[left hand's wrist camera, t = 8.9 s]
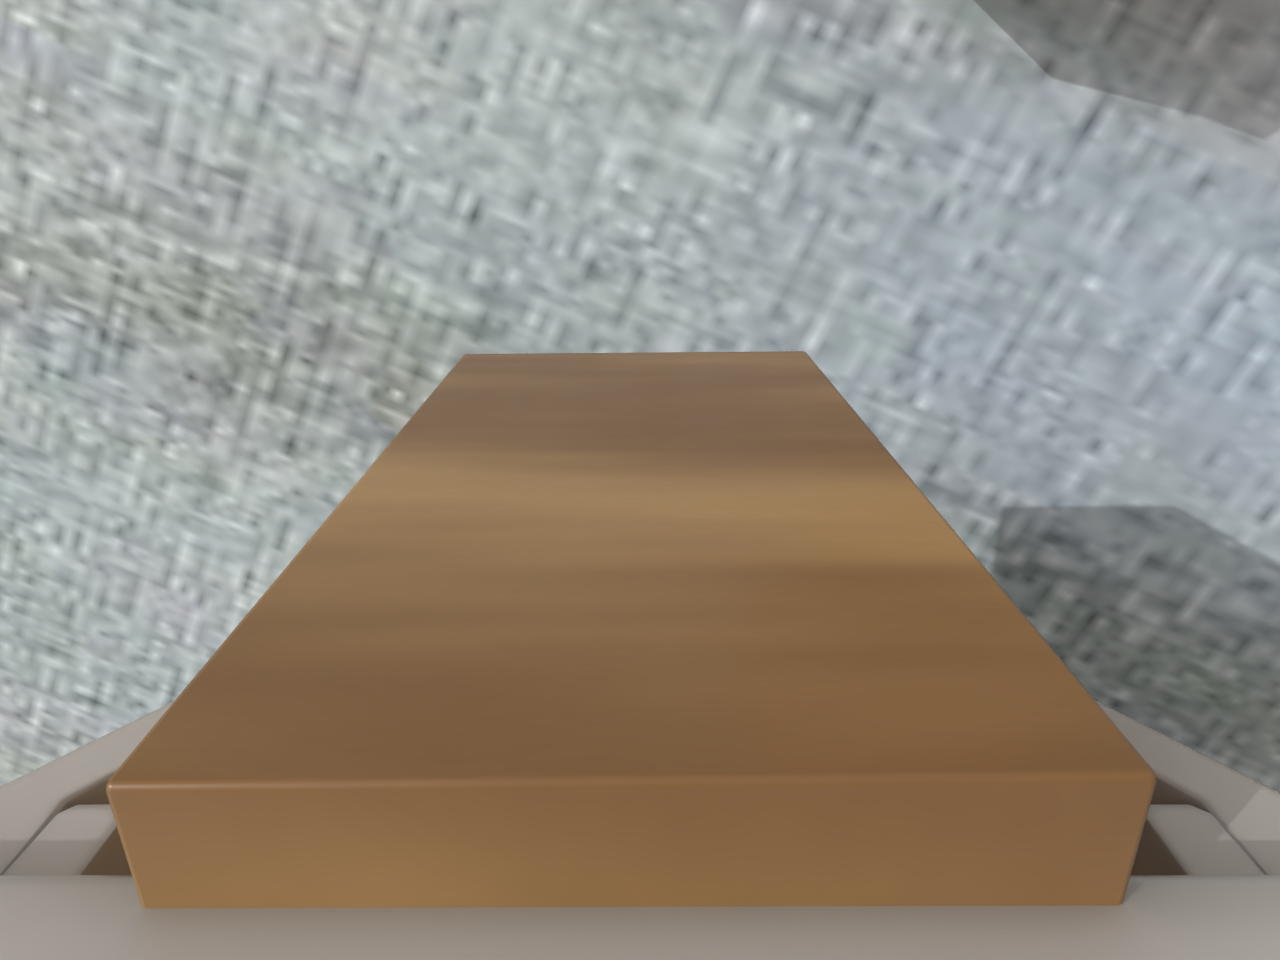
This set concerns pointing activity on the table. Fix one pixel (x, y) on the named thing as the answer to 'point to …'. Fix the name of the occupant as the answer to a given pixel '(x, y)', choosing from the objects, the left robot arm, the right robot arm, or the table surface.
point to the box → (633, 675)
